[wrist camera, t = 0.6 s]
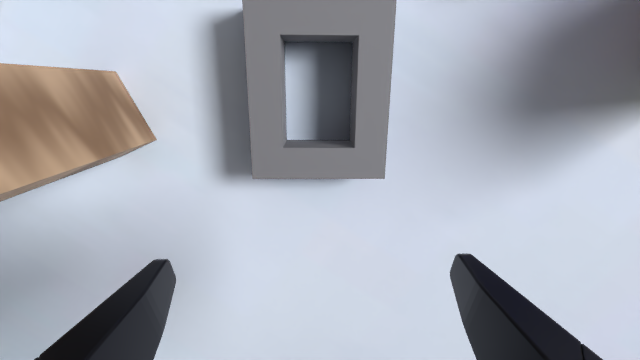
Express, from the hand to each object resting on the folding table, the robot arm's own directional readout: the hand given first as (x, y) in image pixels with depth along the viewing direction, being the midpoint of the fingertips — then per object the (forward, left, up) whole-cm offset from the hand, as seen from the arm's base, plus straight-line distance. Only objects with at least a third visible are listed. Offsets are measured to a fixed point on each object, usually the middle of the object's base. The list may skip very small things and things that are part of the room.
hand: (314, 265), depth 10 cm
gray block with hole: (+5, +1, -14) cm, 15 cm away
